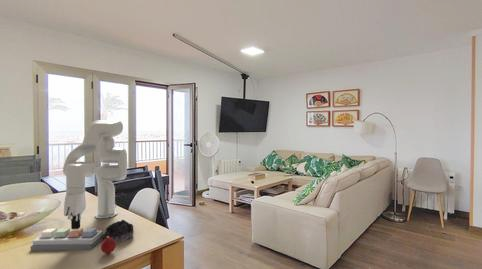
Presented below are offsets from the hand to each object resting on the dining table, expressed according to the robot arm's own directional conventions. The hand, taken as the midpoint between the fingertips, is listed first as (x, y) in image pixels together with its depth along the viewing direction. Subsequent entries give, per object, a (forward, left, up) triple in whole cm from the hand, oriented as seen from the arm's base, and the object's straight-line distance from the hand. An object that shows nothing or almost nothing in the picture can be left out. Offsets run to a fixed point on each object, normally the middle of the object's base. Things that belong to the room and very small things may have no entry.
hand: (75, 228), depth 120 cm
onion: (+11, +20, -8) cm, 24 cm away
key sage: (0, -6, -3) cm, 7 cm away
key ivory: (0, -12, -3) cm, 13 cm away
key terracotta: (0, 0, -3) cm, 3 cm away
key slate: (0, +6, -3) cm, 7 cm away
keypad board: (0, -3, -7) cm, 8 cm away
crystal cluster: (-6, +17, -8) cm, 20 cm away
